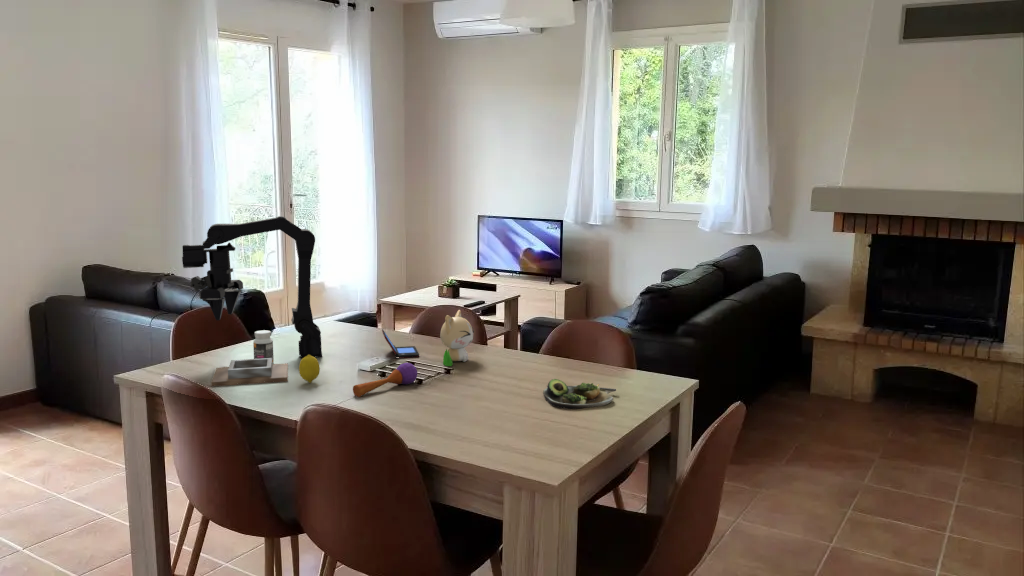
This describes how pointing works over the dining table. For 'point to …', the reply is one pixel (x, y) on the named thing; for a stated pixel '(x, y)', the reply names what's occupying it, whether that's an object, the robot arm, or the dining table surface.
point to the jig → (250, 372)
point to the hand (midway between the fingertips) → (224, 317)
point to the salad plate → (576, 395)
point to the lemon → (309, 368)
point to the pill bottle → (263, 345)
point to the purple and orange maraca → (389, 379)
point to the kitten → (456, 338)
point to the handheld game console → (402, 349)
